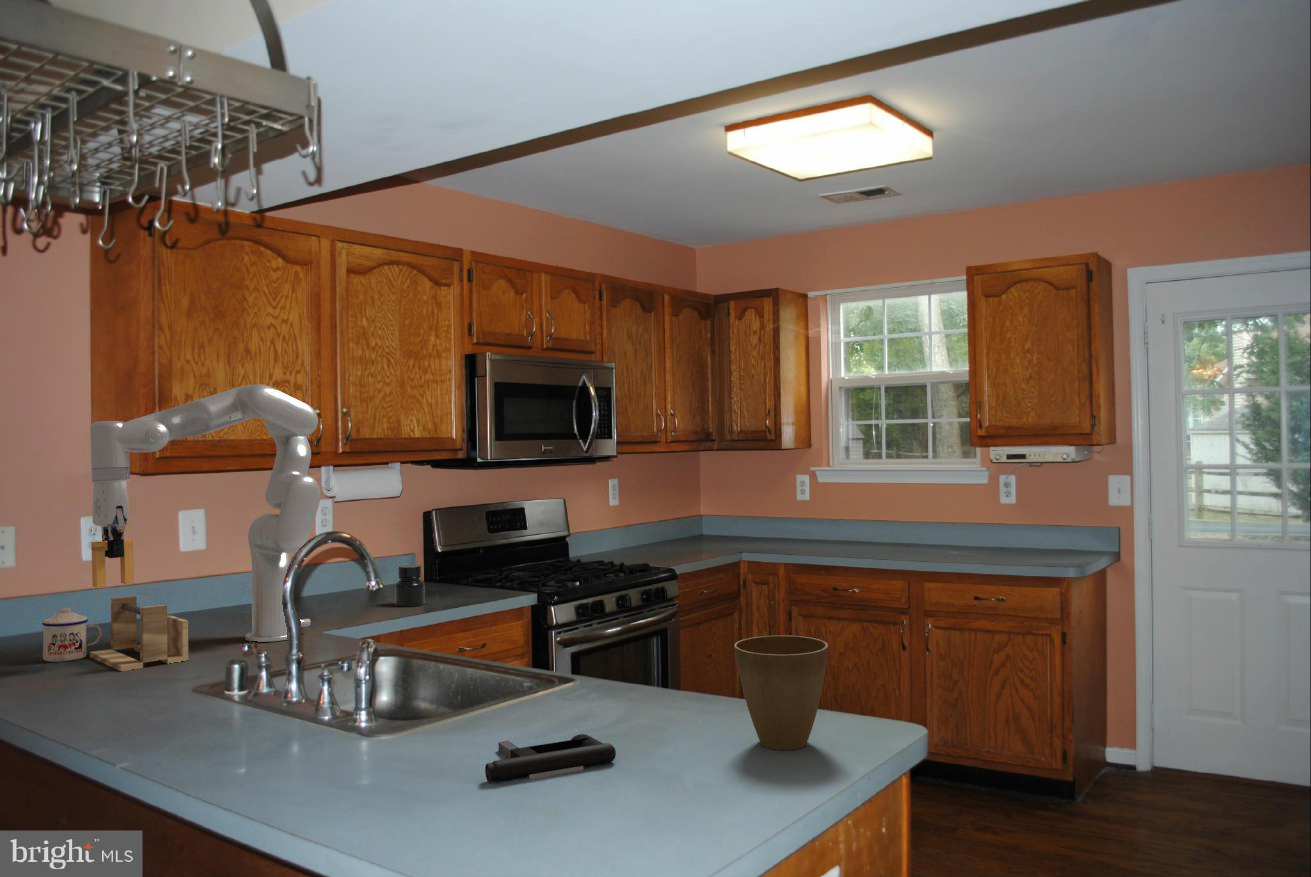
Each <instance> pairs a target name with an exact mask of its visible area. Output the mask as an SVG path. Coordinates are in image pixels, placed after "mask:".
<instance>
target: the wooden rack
mask: <svg viewBox="0 0 1311 877" xmlns="http://www.w3.org/2000/svg"><path fill="white" fill-rule="evenodd" d="M137 598H138V597H137V596H135V595H130V596H121V597H112V598H110V648H108V649H100V650H95V651H90V652H89V658H91V659H93V660H96V661H98V662H99V663H102V664H104V665H106V666H107V667H111V668H113V669H115V670H117V671H119V672H121V671H122V672H127V671H128V672H129V671H133V670H132V669H134V670H140V668H141V669H144V663H149V662H156V661H159V660H161V661H163V662H162V663H164V662H166V663H167V665H170V664H169V663H172V664H175V663H174V662H178V663H182V662H181V661H185V662H187V661H186V660H188V661H189V620H187V619H184V618H181V617H178V616H174V615H171V614H168V605H167V604H158V605H151V606H143V607H140V606H138V605H137V603H138V602H137ZM137 615H139V616H140V617H139V625H140V626H139V630H140V631H139V635H140V636H139V637H140V638H139V643H140V644H137V643H138V641H137V640H138V639H137V637H138V636H137V635H138V627H137V626H138V625H137V623H138V622H137V621H138V620H137V618H138V616H137ZM130 648H133V649H134V650H135V651H134V650H133V651H134V652H136V653H139V652H140V654H139V658H140V659H139V660H140V661H139V660H137V659H136V658H132V657H131V656H128V655H126V654H124V653H121V652H119V651H117V650H124V649H130ZM161 661H160V662H161ZM166 663H165V664H166Z"/></svg>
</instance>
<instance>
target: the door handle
mask: <svg viewBox="0 0 1311 877" xmlns="http://www.w3.org/2000/svg"><path fill="white" fill-rule="evenodd" d="M498 752H500V753H501V754H502V756H504V757H505V758H504V759H498V760H497V759H496V760H493V761H492V762H488V763H486V764H485V766H484V772H485V778H486V782H488V783H489V782H493V783H501V782H508V781H514V780H521V779H525V778H527V779H529V780H534V779H539V778H544V777H552V776H555V775H556V776H557V775H562V774H567V773H574V772H578V771H579V772H580V771H584V768H590V767H595V766H597V767H598V766H602V765H608V764H611V763H612V762H613V761H614V760H615V759H616V755H617V751H616V748H615V747H614V745H612V744H611V743H608V742H605V743H603V742H602V741H599V740H597V739H596V738H594V737H592V736H590V735H588V734H585V733H584V734H583V733H581V734H580V733H579V734H577V735H575V736H573V737H571V739H569V740H561V741H557V742H549V743H543V744H536V745H528V746H523V747H519V746H517V745H515V744H514V743H512V742H511V741H510V740H506V741H503V740H502V741H499V742H498Z"/></svg>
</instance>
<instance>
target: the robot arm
mask: <svg viewBox="0 0 1311 877" xmlns="http://www.w3.org/2000/svg"><path fill="white" fill-rule="evenodd" d="M252 419H263V420H264V426H265V428H266V429H267V431H268V433H269V434H270V436H271V437H272V439H273V441H274V444H275V446H276V447H275V448H276V455H275V460H274V464H273V467H272V470H271V474H270V477H269V479H268V483H267V486H266V490H265V494H264V495H265V501H266V502H267V504H268V505H269V507H271V508H273V509H275V510H279V513H278V514H275V513H268V514H267V513H266V514H263V515H259V516H258V517H256V518H255V519H254V520H253V521H252V522H251V524H250V525H249V528H248V535H247V539H248V546H249V551H250V559H251V627H252V628H251V631H250V632H247V633H246V634H245V641H248V642H252V641H257V642H256V643H264V642H265V643H268V642H270V643H271V642H280V641H287V640H288V639H287V627H286V623H285V616H284V612H283V605H282V588H283V580H284V578H285V575H286V573H287V569H288V566H289V564H290V561H291V562H292V560H291V556H290V554H294V553H298V552H299V551H300V550H299V548H301V547H302V546H303V545H304V544H305V543H306V542H307V543H308V541H309V539H310V536H311V533H312V530H313V527H314V523H315V521H316V517H317V513H318V510H319V507H320V503H321V488H320V485H319V482H318V481H317V480H316V479H315V478H314V477H312V476H311V475H309V474H308V472H309V468H310V464H311V459H312V449H311V446H310V442H309V440H308V436H310V435H312V434H313V433H314V432H315V431H316V429H317V428H318V424H319V418H318V414H317V413H316V410H315V409H314V408H313V407H312V406H310V405H309V404H308V403H306V402H303V401H301V400H299V399H297V398H295V397H294V396H291V395H289V394H287V393H285V392H283V391H281V390H280V389H278V388H277V389H276V388H275V387H273V386H270V385H267V384H262V383H261V384H245V385H242V386H238V387H234V388H231V389H228V390H226V391H221V392H219V393H215V394H212V395H209V396H206V397H201V398H199V399H195V400H193V401H189V402H187V403H183V404H180V405H177V406H174V407H170V408H167V409H163V410H160V411H156V412H153V413H151V414H150V413H149V414H147V415H144V416H139V417H137V418H134V419H130V420H128V421H120V420H105V421H104V420H101V421H95V422H93V423H91V426H90V427H89V429H90V430H89V434H90V435H89V436H90V466H91V467H90V468H91V484H93V492H92V524H93V525H94V526H97V527H100V530H101V541H107V543H108V550H105V558H108V559H117V558H119V559H120V557H124V539H125V531H126V525H127V524H129V521H130V507H129V492H128V486H127V485H128V484H127V482H131V472H130V471H131V470H130V453H154V452H157V451H159V450H162V449H163V448H165V447H166V446H167V444H168V442H170V441H173V440H177V439H183V438H190V437H197V436H203V435H207V434H212V433H214V432H217V431H220V430H222V429H225V428H228V427H232V426H234V425H237V424H241V423H242V422H243V423H244V422H246V421H249V420H252ZM307 543H306V544H307ZM298 550H299V551H298ZM299 619H300V621H301V628H302V627H303V628H304V627H310V626H311V622H312V621H311V619H310V618H303V619H301V618H299Z"/></svg>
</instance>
